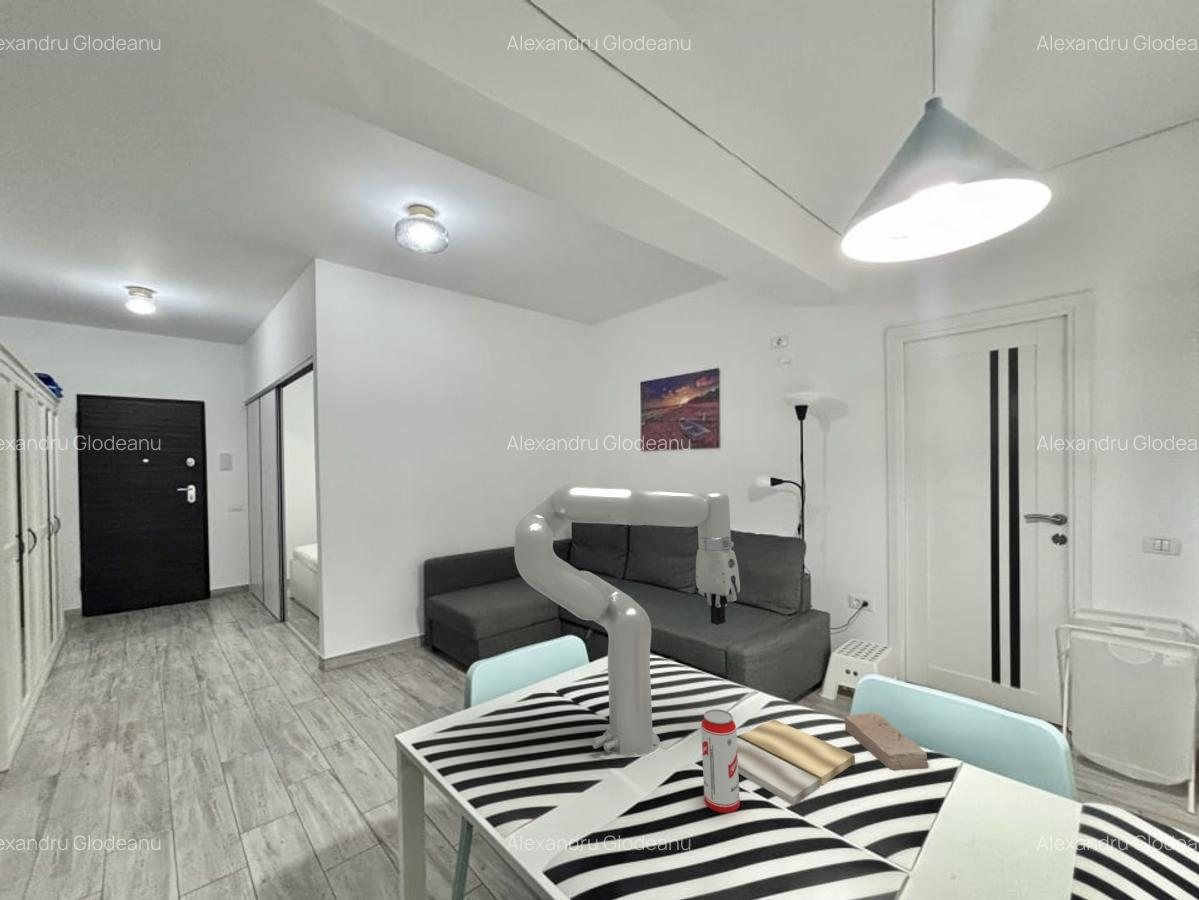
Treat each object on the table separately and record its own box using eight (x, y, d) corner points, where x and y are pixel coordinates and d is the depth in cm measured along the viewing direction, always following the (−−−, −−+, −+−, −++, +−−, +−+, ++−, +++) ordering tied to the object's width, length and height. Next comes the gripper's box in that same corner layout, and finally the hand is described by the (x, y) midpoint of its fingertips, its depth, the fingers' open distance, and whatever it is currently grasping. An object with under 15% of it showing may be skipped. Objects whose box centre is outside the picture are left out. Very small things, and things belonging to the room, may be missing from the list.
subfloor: (793, 815, 86) (792, 800, 86) (706, 763, 102) (706, 751, 102) (862, 765, 100) (862, 753, 100) (777, 726, 116) (776, 716, 116)
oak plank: (821, 785, 92) (821, 777, 92) (740, 742, 107) (739, 735, 108) (855, 762, 99) (854, 754, 99) (773, 725, 114) (773, 718, 114)
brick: (932, 775, 96) (930, 750, 97) (890, 778, 96) (889, 753, 96) (879, 732, 113) (877, 711, 113) (843, 735, 112) (842, 713, 113)
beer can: (741, 799, 90) (737, 710, 91) (739, 822, 84) (734, 726, 85) (706, 793, 92) (702, 706, 93) (702, 815, 87) (698, 721, 88)
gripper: (750, 545, 112) (754, 627, 111) (702, 540, 125) (705, 613, 124) (729, 549, 108) (733, 634, 107) (681, 543, 120) (684, 619, 119)
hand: (718, 622), depth 115 cm, fingers closed
